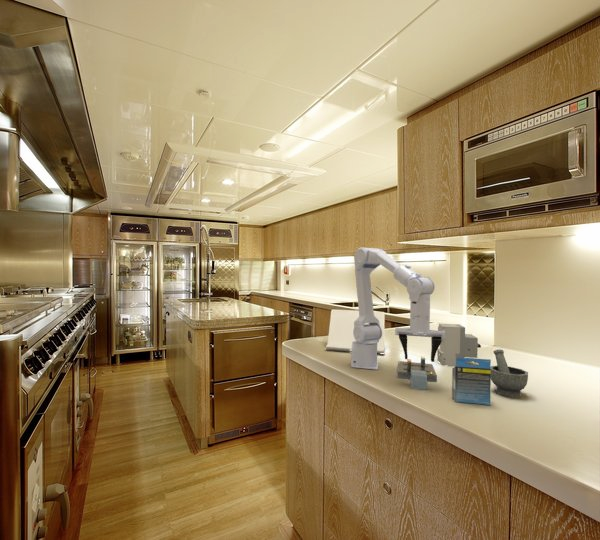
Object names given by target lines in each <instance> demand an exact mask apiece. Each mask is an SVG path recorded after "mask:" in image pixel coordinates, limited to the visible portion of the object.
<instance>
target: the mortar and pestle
mask: <svg viewBox="0 0 600 540" xmlns="http://www.w3.org/2000/svg"><path fill="white" fill-rule="evenodd" d="M504 353H505V351H504V350H503V349H495V350H493V354H494V355H495V360H496V365H490V369H491V381H492V383H493V385H494V386H495V387H496V390H495V391H496V393H497V394H498V395H501V396H504V397H507V398H516V399H517V398H520V397H521V391H522V390H524V389H525V388H526V386H527V385H528V380H529V371H526V370H524V369H521V368H518V367H513V366H508V364H507V363H508V362H507V360H506V358H505V355H504Z"/></svg>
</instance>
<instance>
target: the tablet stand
mask: <svg viewBox="0 0 600 540" xmlns="http://www.w3.org/2000/svg"><path fill="white" fill-rule="evenodd" d="M373 311H374V310H373ZM374 316H375V317H376V318H377V319H378V320H379V323H380V326H381V328H382V337H381V339H379V342H378V343H377V353H384V354H385V322H386V321H385V320H386V319H385V311H374ZM358 317H359V310H355V309H354V310H353V309H352V310H351V309H348V310H347V309H331V311H330V319H329V328H328V337H327V344H325V349H326V350H327V351H339V352H348V351H352V342H353V341H356V340H355V338H354V335H353V330H354V322H355V320H356V319H357V318H358ZM367 324H369V323H365V324H364V325H367Z"/></svg>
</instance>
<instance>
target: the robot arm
mask: <svg viewBox="0 0 600 540" xmlns="http://www.w3.org/2000/svg"><path fill="white" fill-rule="evenodd" d="M353 258H354V259H353V260H354V261H353V262H354V268H355V269H354V274H355V275H354V276H355V284H356V296H357V305H358V306H357V307H358V311H359V317H358V318H357V319H356V320H355V322H354V330H353V335H354V338H355V340H356V341H353V342H352V352H350V353H351V356H350V367H351V368H356V369H357V368H358V369H366V370H367V369H368V370H378V368H379V362H378V354H377V343H378V342H379V339H381V337H382V328H381V326H380V323H379V320H378V319H377V318H376V317H375V316H374V302H373V295H372V294H373V292H372V283H371V274H372V272H374V270H376V269H377V268H378V267H379V266H382V267H384V268H385V269H387V270H388V271H390V272H391V273H393V278H394V279H395V280H396V281H397V282H399V283H400V284H401V285H402V286H403V287H405V288H406V290H407V293H408V295H409V298H408V299H409V300H410V309H409V311H410V312H409V314H410V315H409V317H410V318H409V327H408V328H406V327H405V328H402V327H401V328H399V327H395V329H394V331H395V334H394V335H395V336H398V338H399V341H400V344H401V347H402V348H403V354H404V359H405V360H407V359H408V357H409V356H408V336H409V337H422V338H423V337H424V338H426V337H427V338H430V340H431V350H430V362H432V363H434V362H435V357H436V354H437V351H438V349H439V348H440V344H441V342H442V339H441V338H443V339H445V332H444V331H438V330H437V329H436V330H434V329H430V326H431V325H430V324H431V323H430V321H431V320H430V317H431V295H432V294H434V293H433V292H434V291H435V283H434V281H433V280H432V279H431V278H430V277H429V276H428V277H427V276H424V277H423V276H422V274H421V273H420V272H416V271H415V270H414V269H412V268H411V267H412V266H411V265H409V264H400V263H398V262H397V261H396V260H394V259H393V258H392V257H391V256H390V255H388V254H387V251H386V250H383V249H381V248H379V247H378V248H373V247H372V248H371V247H364V246H361V247H359V248H358V249H356V251H355V253H354V254H353ZM365 323H369V324H367V325H364V324H365Z"/></svg>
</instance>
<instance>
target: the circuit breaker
mask: <svg viewBox="0 0 600 540" xmlns="http://www.w3.org/2000/svg"><path fill="white" fill-rule="evenodd" d="M437 331H444V332H445V339H443V338H441V339H442V342H441V344H440V346H439V348H438V349H437V352H436V354H437V359H436V360H437V362H438V361H439V362H440V363H439V362H438V363H439V364H440V365H441V366H445V365H448V366H447V367H455V366H456V357H462V358H476V359H478V348H479V349H480V348H482V345H481V344H480V343H479V342H478V341H479V340H478V337H477V336H474V335H473V334H472V333H471V334H470V333H466V327H465V326H463V325H462V324H460V323H442V322H441V323H438V327H437Z"/></svg>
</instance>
